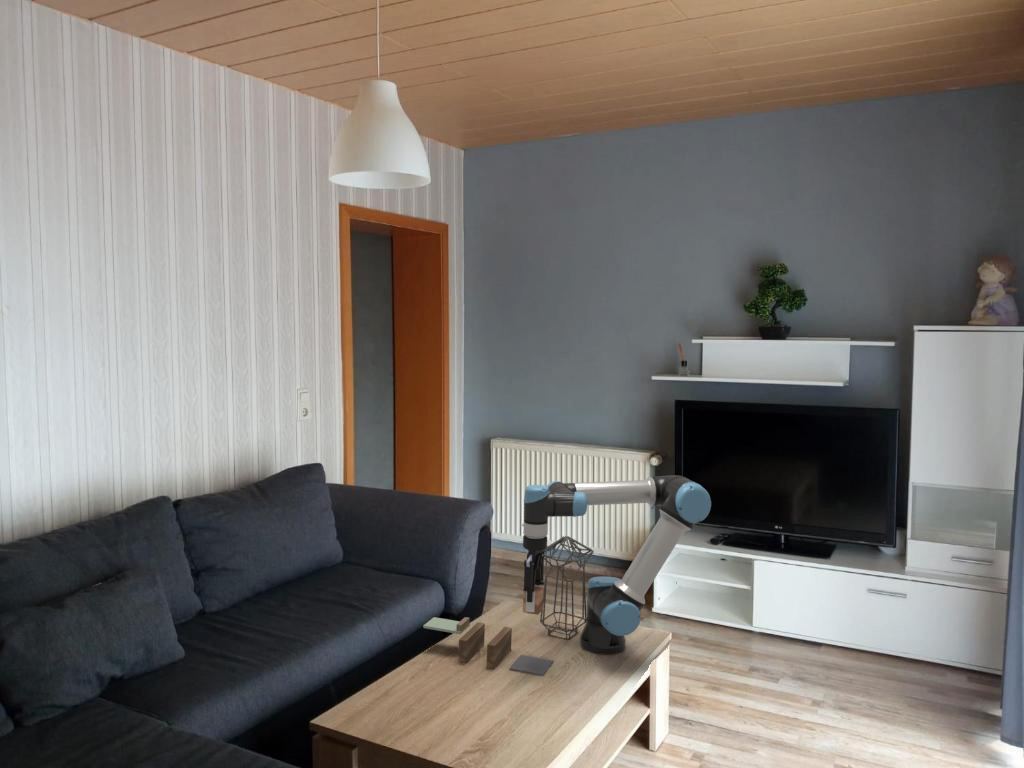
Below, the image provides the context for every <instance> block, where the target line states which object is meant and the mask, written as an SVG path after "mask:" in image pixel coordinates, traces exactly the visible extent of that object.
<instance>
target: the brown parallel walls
mask: <svg viewBox="0 0 1024 768" xmlns="http://www.w3.org/2000/svg"><path fill="white" fill-rule="evenodd" d="M485 626H486V624H485V623H484V622H480V621H479V622H476V623H475V624H474V625H473V626H472V627H470V629H469V630H468V631H466V632H465V634H463V635H462V636H461V637H460V638H459V639H458V654H457V655H458V656H457V657H458V660H457V661H458V662H457V663H459V664H462V663H464V665H466V664H468V662H469V661H470V660H471V659H472V658H473V657H474V656H475V655H476V654H477V653H478V652H479V651H480V650H481V649H482V648H483V647H484V646H485V633H486V632H485V631H486V629H485ZM512 630H513V628H512V627H509V626H503V627H502V629H501V630H499V632H498V633H497V634H495V636H494V637H493V638H492V639H491V640H490V641H489V642H488V643H487V644H486V669H489V668H490V669H491V670H495V669H496V668H497V667H498V666H499V664H500V663H501V662H502V661H503V660H504V659H505V658H506V656H508V654H509V653H510V652H511V651H512V637H513V636H512V633H513V631H512ZM495 667H496V668H495Z"/></svg>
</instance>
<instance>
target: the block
mask: <svg viewBox="0 0 1024 768" xmlns="http://www.w3.org/2000/svg"><path fill="white" fill-rule="evenodd" d="M534 591H535V612H527V611H526V591H522V593H523V594H522V613H525V614H531V615H537V616H538V615H539V614H541V611H542V610H543V608H544V605H543V593H544V586H541V587H536V586H535V588H534Z"/></svg>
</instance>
